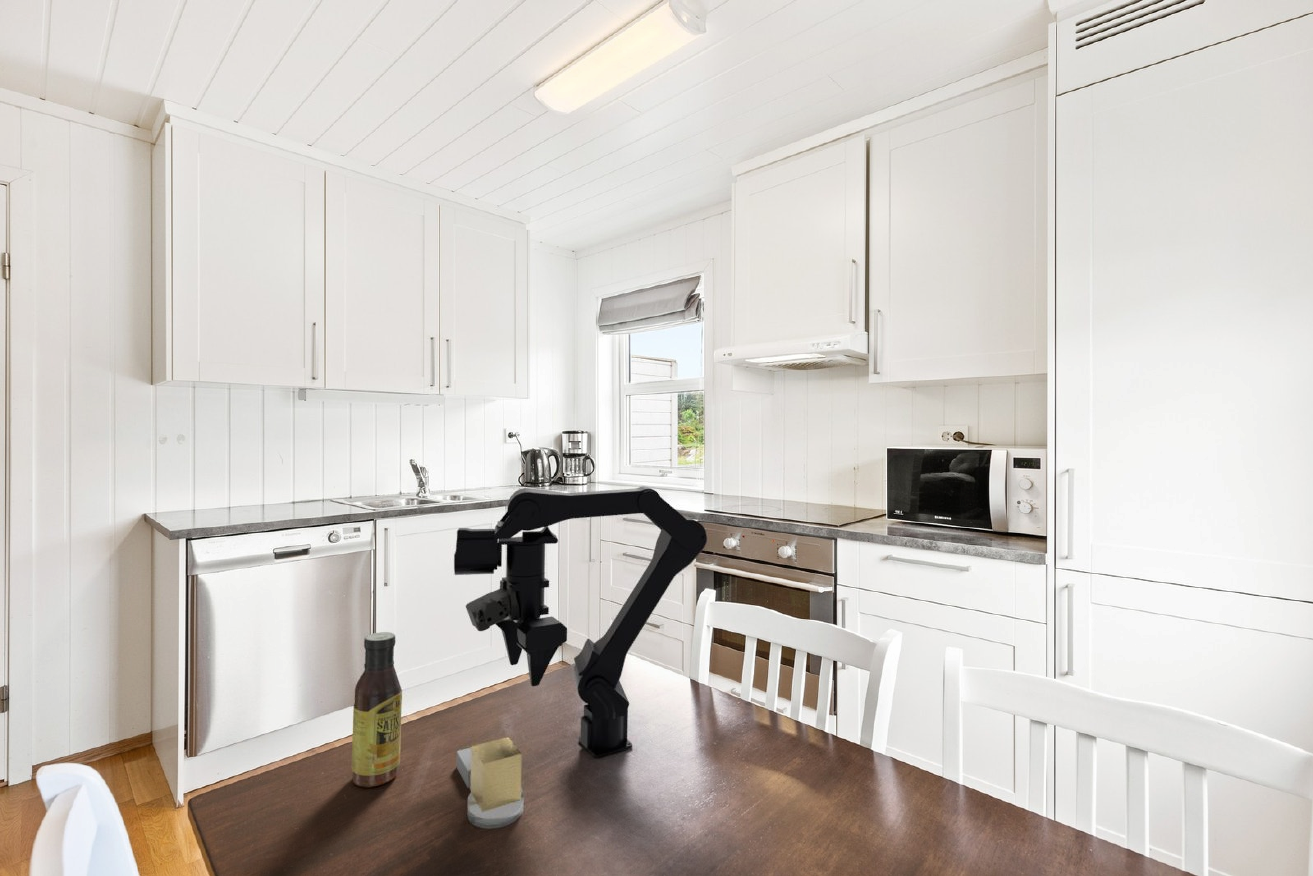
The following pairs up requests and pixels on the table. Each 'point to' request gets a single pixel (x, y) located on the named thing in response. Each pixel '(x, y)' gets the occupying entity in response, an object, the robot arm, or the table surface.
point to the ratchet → (475, 815)
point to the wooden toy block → (495, 773)
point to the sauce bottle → (377, 715)
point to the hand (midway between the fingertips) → (523, 674)
